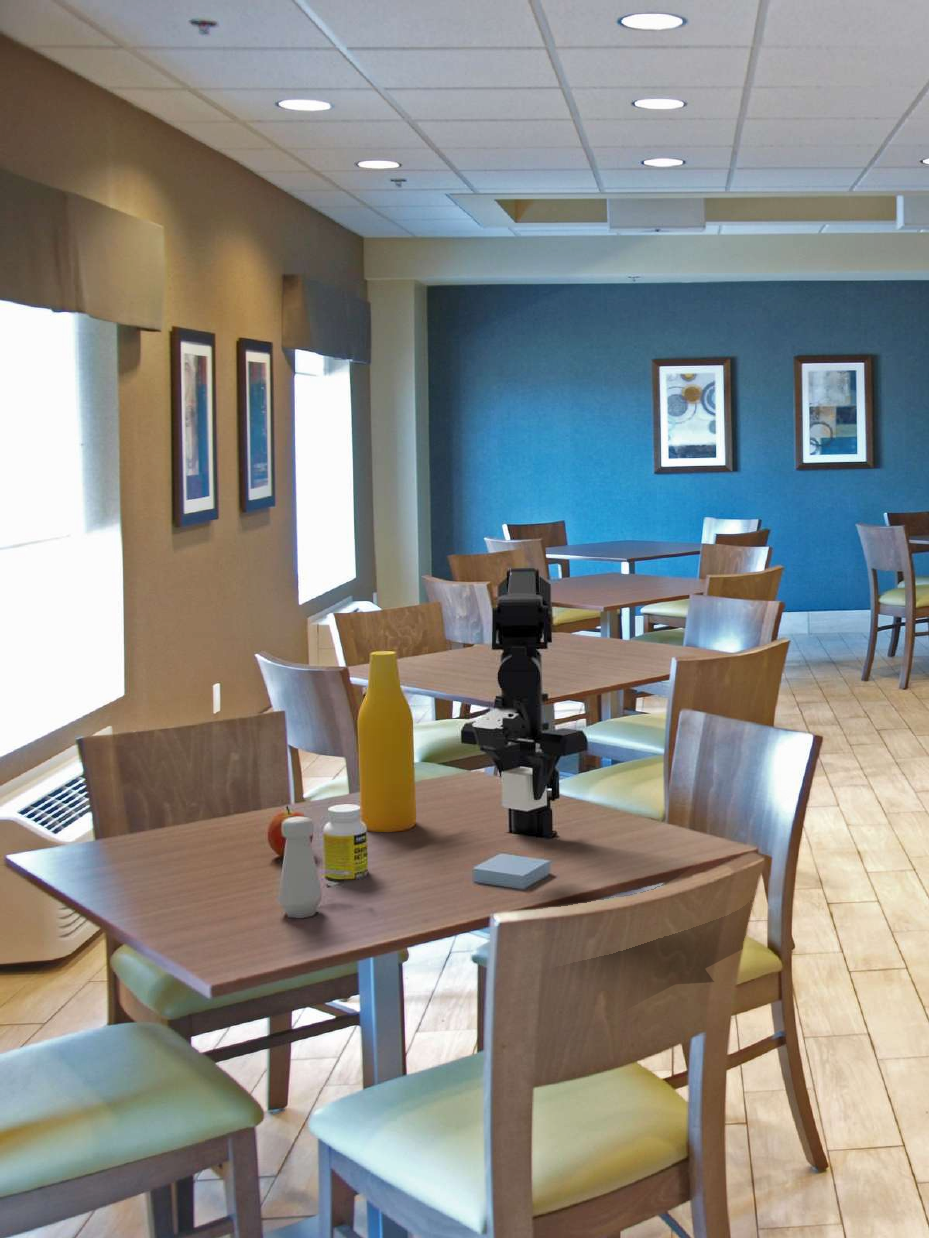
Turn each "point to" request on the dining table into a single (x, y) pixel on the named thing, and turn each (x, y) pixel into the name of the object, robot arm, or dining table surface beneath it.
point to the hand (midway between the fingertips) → (524, 797)
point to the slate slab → (511, 871)
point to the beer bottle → (386, 750)
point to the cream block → (520, 790)
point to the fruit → (275, 833)
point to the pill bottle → (345, 845)
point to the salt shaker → (299, 870)
